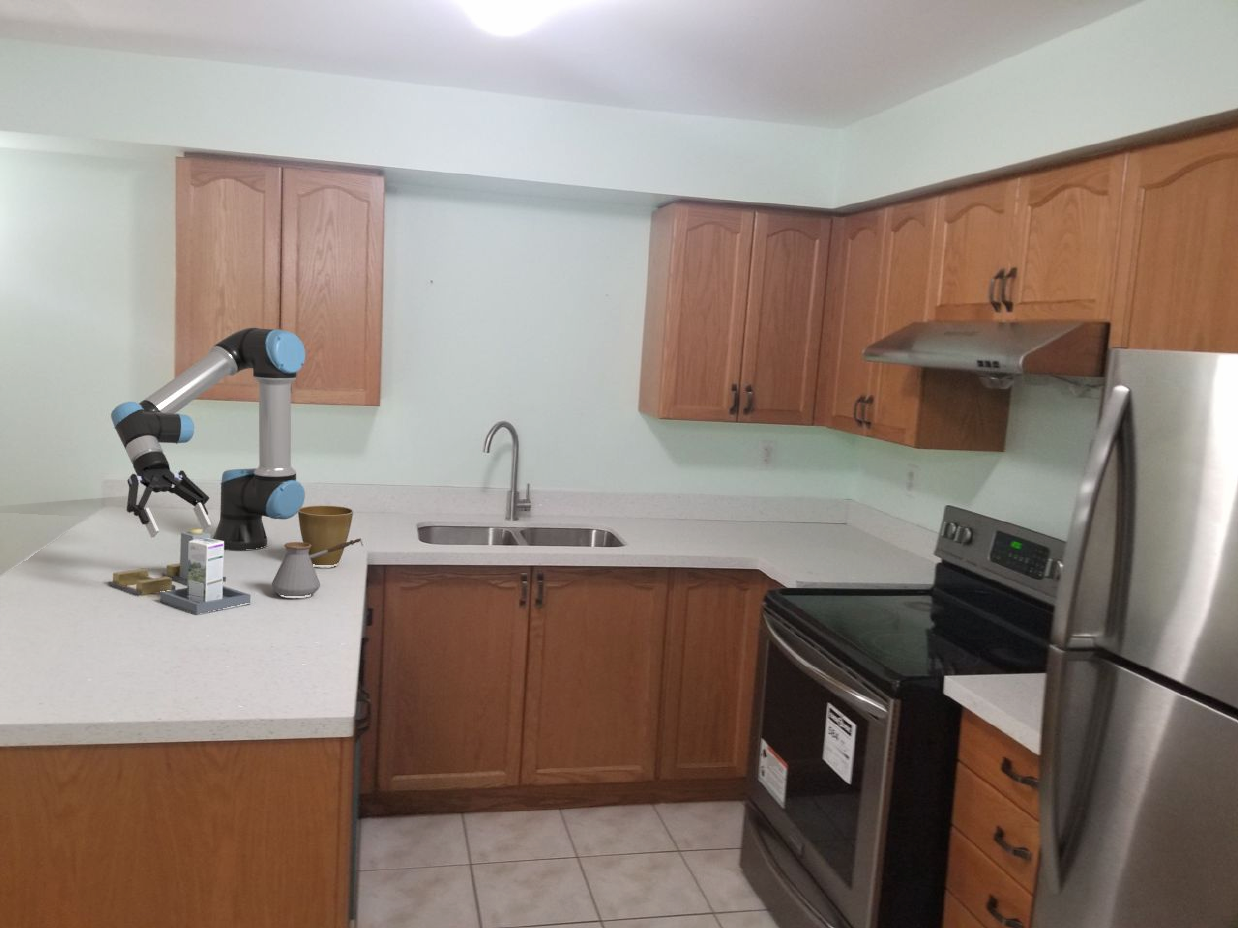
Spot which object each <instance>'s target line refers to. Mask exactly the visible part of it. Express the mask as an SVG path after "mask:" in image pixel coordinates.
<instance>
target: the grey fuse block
mask: <svg viewBox="0 0 1238 928" xmlns="http://www.w3.org/2000/svg"><path fill="white" fill-rule="evenodd" d="M211 535H212V534H211V533H208V532H205V531H203V529H202V528H198V527H197V528H196V527H195V528H194V527H192V528H189V531H185V532H184V531H183V532H180V549H179V551H180V556H179V563H180V578H183V579H187V580H188V544H189V541H192V540H195V539H199V538H209V539H212V538H211Z"/></svg>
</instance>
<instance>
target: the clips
mask: <svg viewBox="0 0 1238 928" xmlns="http://www.w3.org/2000/svg"><path fill="white" fill-rule="evenodd" d="M162 577H170V578H172V582H175V583H178V584H182V585H184V586H187V583H188V580H187V579H183V578H180V562H179V563H174V564H173V563H172V564H167V565H166V572H164V573H162ZM225 580H226V581H227V577H226V576H223V581H224V582H226V581H225Z"/></svg>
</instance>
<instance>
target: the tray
mask: <svg viewBox="0 0 1238 928" xmlns="http://www.w3.org/2000/svg"><path fill="white" fill-rule="evenodd" d="M159 601H160V603H161V602H162V604H164V603H165V605H167V606H170V607H172V606H173V607H172V608H175V607H176V609H178V608H179V609H178V610H181V609H182V610H181V611H184V610H185V611H184V612H186V611H188V612H187V613H189V612H191V613H190V614H192V613H194V614H193V615H195V614H200V613H205V612H208V611H209V612H210V611H213V610H218V609H223V608H227V607H231V606H237V605H240V604H245V603H250V604H251V594H249V593H246V592H243V591H239V590H237V589H233V588H230V587H227V586H224V585H223V595H222V599H218V600H212V601H207V602H201V603H197V602H194V601H191V600H188V599H187V587H184V588H178V589H175V590H171V591H165V592H160V600H159ZM210 613H211V612H210ZM205 614H206V613H205ZM200 615H201V614H200Z"/></svg>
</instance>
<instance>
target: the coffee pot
mask: <svg viewBox="0 0 1238 928" xmlns="http://www.w3.org/2000/svg"><path fill="white" fill-rule="evenodd" d="M359 542H360V544H361V546H362V547H364V543H363V541H362V538H361V537H360V538H356V539H354V540H350V541H347V542H346V543H342V544H339V545H337V546H334V547H332V548H329V549H327V550H325V551H321V552H318V553H315V554H312V555H309V554H308V552H309V549H310V547H311V544H309V543H303V541H302V542H299V541H295V542H286V543H284V544H283V545H284V547H285V550H286V553H285V555H284V558H283V560H282V562H281V563H280V566H279V567H278V569H277V572H276V573H275V576H274V577H273V580H272V582H271V587H272V590H273V591H274V592H275V593H276V594H278V595H279V594H280V595H284V596H305V595H310V594H312V595H314V594H316V592H317V591H318V590H319V589H320V587H321V583H320V580H319V578H318V575H317V572H316V570H315V569H316V568H314V567H313V564H312V561H311V559H312V558H315V557H317V556H320V555H323V554H325V553H329V552H332V551H335V550H339V549H342V548H344V549H345V548H347V547H349V546H353V545H354V544H355V543H359ZM313 593H314V594H313Z"/></svg>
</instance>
